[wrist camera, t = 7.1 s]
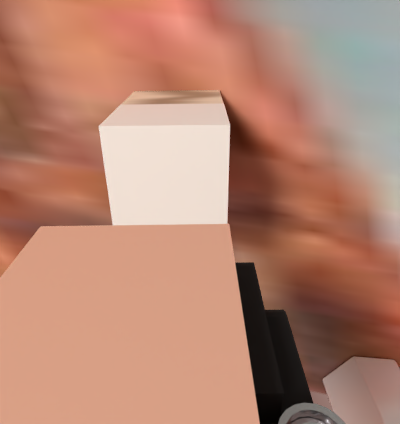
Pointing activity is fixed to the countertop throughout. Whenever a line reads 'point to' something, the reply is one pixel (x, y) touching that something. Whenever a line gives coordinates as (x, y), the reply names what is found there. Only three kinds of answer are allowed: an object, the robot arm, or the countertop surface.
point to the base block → (175, 97)
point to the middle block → (167, 163)
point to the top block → (125, 328)
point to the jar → (365, 391)
